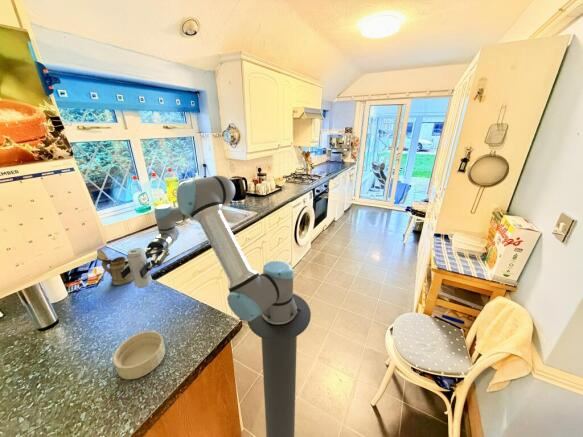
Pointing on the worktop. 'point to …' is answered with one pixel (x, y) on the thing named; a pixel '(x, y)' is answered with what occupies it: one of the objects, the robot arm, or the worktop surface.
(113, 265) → the wooden mug
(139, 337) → the bowl
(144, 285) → the energy drink can
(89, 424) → the worktop surface
